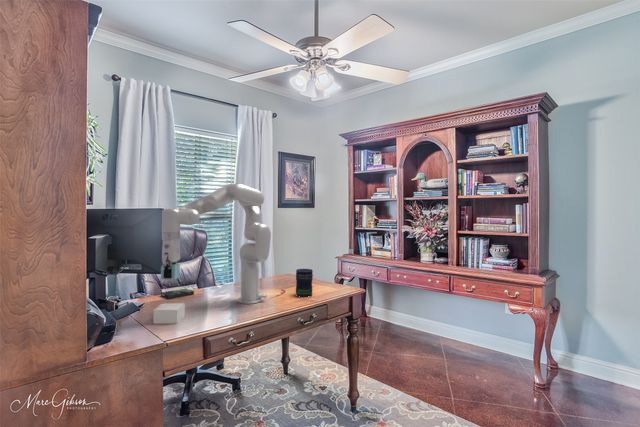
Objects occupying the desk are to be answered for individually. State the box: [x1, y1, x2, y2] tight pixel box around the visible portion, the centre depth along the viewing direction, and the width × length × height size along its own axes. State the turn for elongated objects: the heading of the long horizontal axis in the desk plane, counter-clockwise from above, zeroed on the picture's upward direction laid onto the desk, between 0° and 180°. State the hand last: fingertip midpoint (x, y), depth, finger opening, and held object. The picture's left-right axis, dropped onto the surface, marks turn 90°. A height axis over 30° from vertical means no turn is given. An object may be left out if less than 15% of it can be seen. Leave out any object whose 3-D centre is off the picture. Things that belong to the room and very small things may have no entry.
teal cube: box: [160, 263, 181, 281], centre depth 150 cm, size 6×6×6 cm
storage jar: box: [295, 268, 314, 298], centre depth 197 cm, size 10×10×15 cm
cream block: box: [152, 302, 186, 325], centre depth 150 cm, size 10×10×6 cm
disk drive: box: [160, 288, 195, 300], centre depth 192 cm, size 10×3×15 cm
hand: (170, 276), depth 150 cm, fingers closed on teal cube, 6 cm apart
